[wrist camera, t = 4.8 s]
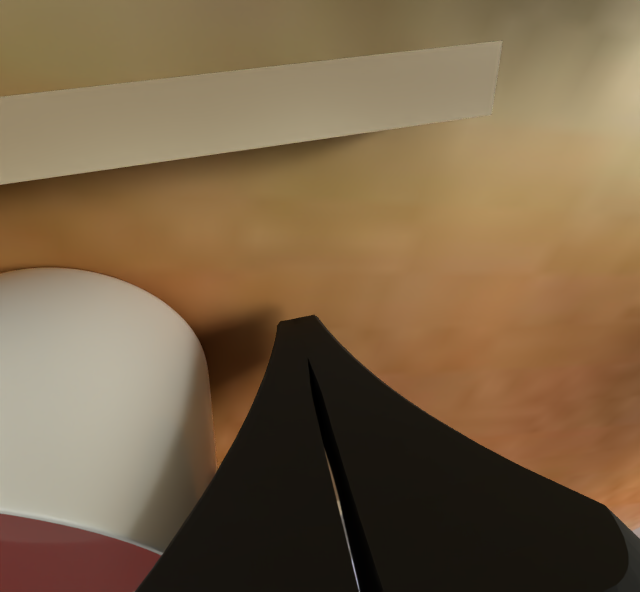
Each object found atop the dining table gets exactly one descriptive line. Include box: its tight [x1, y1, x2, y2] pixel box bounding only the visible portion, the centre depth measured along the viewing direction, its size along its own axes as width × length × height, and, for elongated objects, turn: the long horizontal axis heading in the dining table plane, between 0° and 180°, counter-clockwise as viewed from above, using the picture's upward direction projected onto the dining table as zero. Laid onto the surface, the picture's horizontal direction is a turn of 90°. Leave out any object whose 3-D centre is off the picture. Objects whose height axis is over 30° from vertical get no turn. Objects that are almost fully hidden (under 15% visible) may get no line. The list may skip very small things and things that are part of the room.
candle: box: [0, 267, 218, 592], centre depth 7 cm, size 9×9×6 cm
